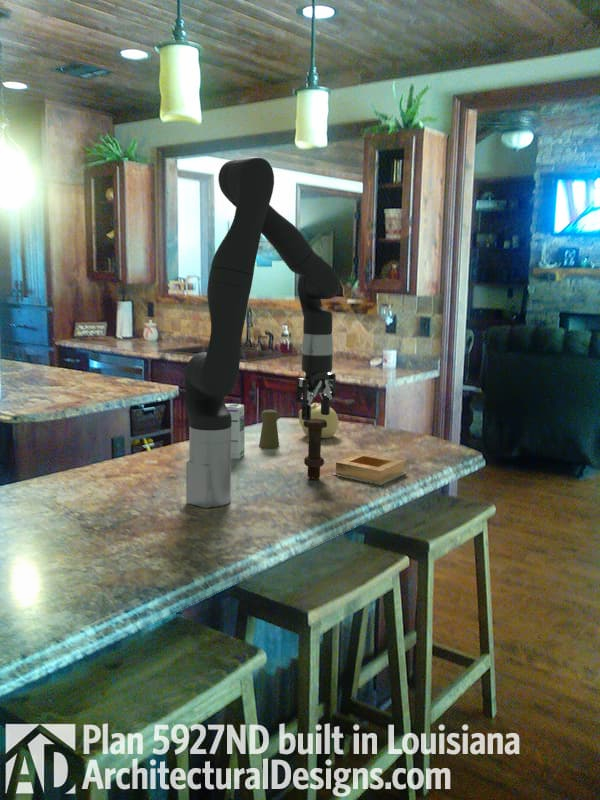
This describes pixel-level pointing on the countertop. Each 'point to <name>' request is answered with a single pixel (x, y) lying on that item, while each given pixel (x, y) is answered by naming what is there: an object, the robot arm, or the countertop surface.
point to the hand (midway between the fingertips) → (315, 417)
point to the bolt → (314, 447)
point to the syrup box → (237, 430)
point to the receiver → (370, 468)
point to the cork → (269, 430)
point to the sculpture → (330, 419)
